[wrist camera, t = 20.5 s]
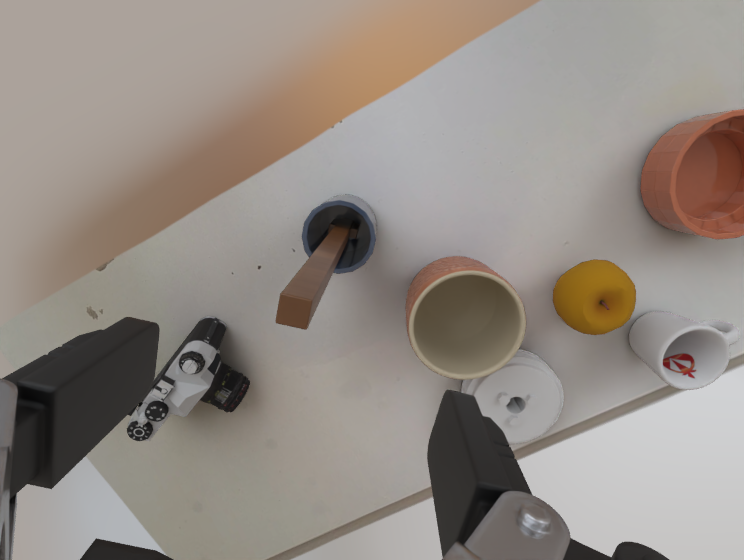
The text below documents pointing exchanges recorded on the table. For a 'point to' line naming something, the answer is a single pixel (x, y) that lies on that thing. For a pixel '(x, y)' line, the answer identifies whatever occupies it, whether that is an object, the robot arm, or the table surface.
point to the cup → (683, 348)
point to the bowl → (698, 176)
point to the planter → (463, 318)
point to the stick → (314, 276)
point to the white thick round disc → (519, 397)
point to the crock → (355, 248)
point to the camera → (189, 382)
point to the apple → (595, 297)
